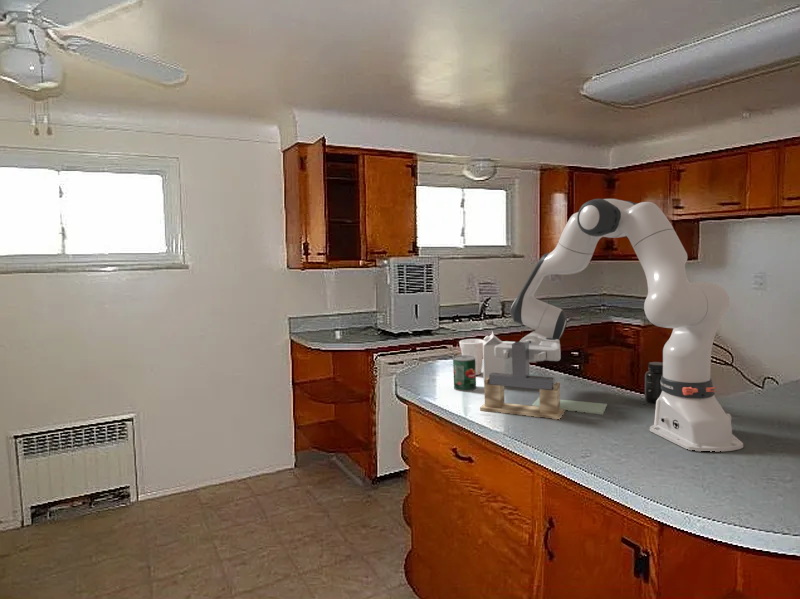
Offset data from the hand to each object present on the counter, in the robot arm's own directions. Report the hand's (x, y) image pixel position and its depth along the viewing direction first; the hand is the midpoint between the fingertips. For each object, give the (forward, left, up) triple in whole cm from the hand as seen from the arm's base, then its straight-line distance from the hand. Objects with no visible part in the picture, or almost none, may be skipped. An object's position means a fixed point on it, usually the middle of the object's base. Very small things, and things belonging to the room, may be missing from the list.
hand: (520, 356), depth 164 cm
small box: (+41, -5, -17) cm, 45 cm away
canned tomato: (+29, +13, -17) cm, 36 cm away
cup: (+48, +7, -17) cm, 52 cm away
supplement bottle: (+3, -43, -17) cm, 46 cm away
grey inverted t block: (0, 0, -9) cm, 9 cm away
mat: (+3, -15, -17) cm, 23 cm away
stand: (0, 0, -17) cm, 17 cm away
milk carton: (+32, +2, -17) cm, 37 cm away
